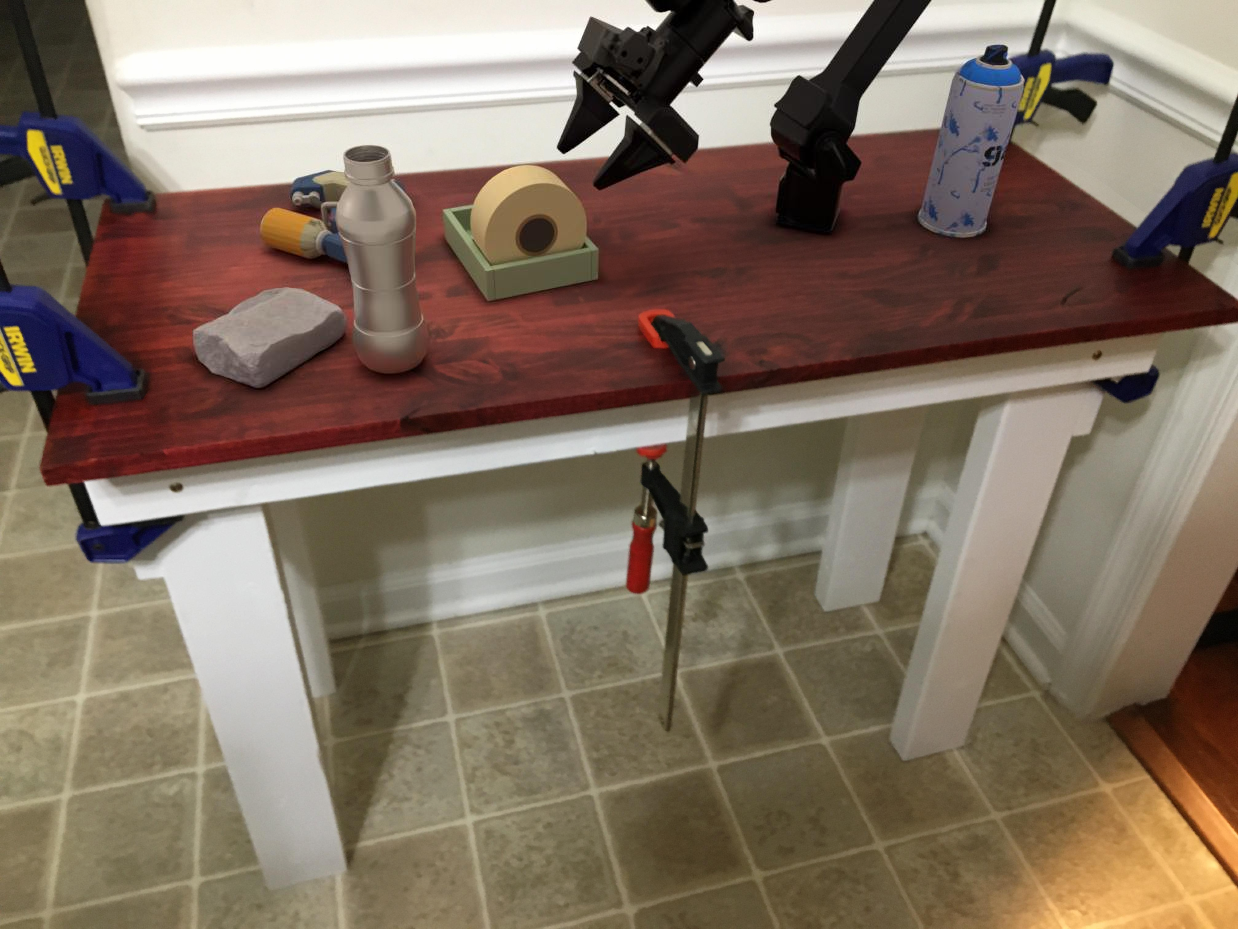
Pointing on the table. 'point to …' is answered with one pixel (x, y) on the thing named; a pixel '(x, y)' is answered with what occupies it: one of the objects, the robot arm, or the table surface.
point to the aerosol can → (972, 144)
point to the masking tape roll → (526, 216)
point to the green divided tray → (516, 263)
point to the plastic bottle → (381, 262)
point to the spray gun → (309, 218)
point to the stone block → (268, 335)
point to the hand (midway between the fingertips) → (577, 168)
